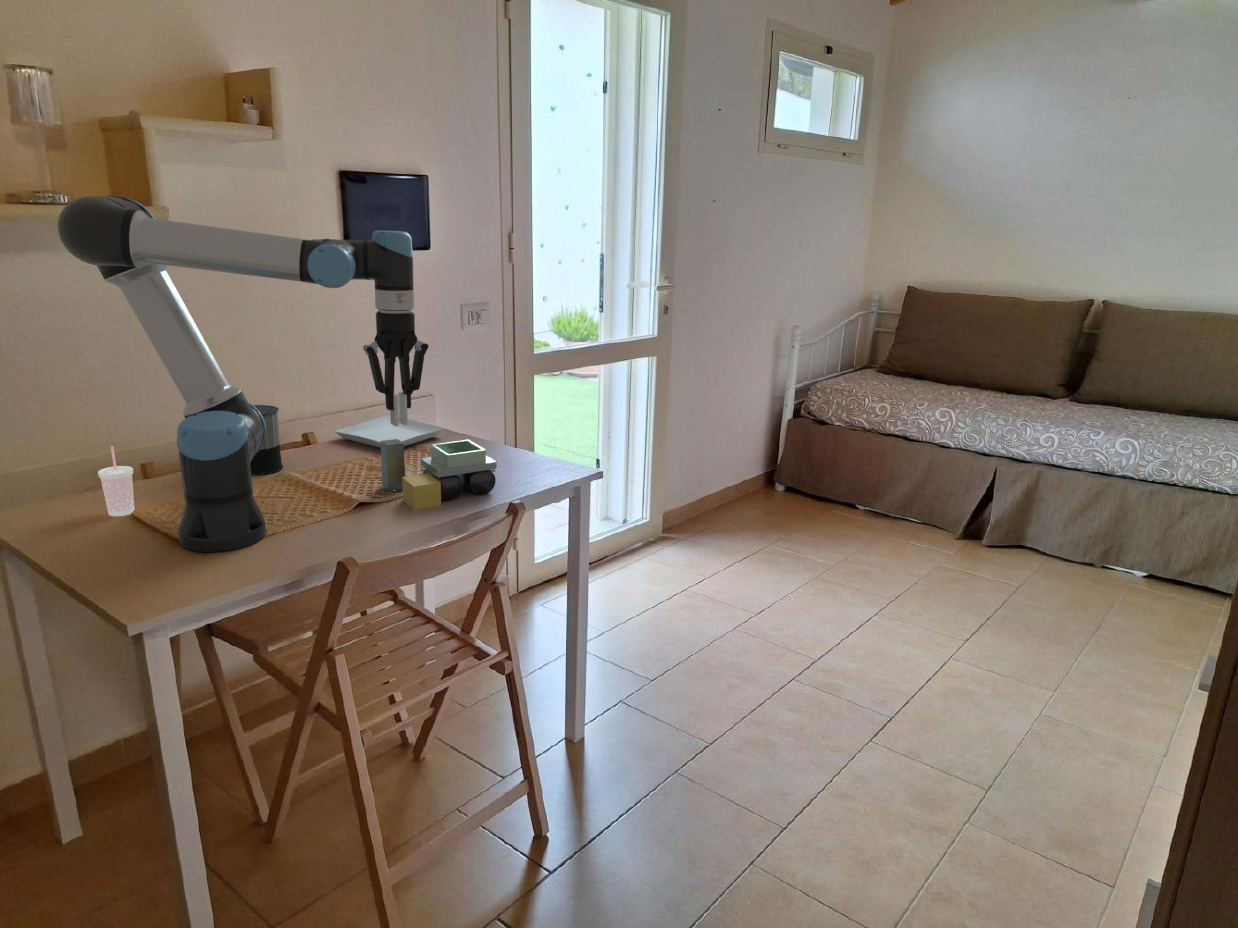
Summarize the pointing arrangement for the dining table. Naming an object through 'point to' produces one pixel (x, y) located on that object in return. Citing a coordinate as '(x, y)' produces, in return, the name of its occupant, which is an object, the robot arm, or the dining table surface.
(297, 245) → the robot arm
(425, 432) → the salad plate
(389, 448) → the pin
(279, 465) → the milk frother
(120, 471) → the beverage cup
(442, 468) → the box
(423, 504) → the block
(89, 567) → the dining table surface
